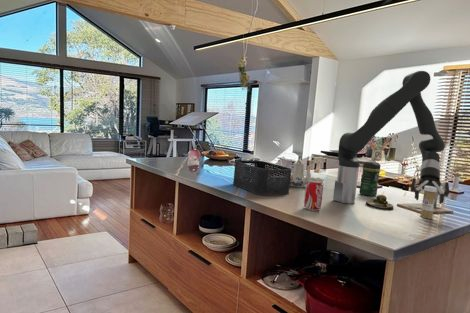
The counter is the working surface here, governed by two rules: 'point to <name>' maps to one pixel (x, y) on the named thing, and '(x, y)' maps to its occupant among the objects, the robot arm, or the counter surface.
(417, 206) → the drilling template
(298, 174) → the chinaware
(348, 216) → the counter surface
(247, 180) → the storage bin
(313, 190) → the soda can
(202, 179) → the counter surface
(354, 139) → the robot arm
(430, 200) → the sprinkles bottle
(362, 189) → the coffee jar
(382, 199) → the olive green hat
